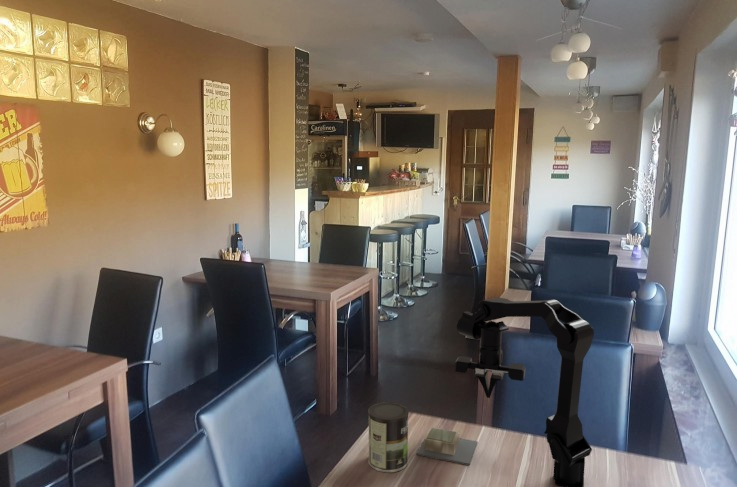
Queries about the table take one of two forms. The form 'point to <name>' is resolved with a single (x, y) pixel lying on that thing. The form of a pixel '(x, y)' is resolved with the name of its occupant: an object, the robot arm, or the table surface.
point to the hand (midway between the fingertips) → (488, 397)
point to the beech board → (442, 441)
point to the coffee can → (388, 436)
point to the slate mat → (461, 454)
